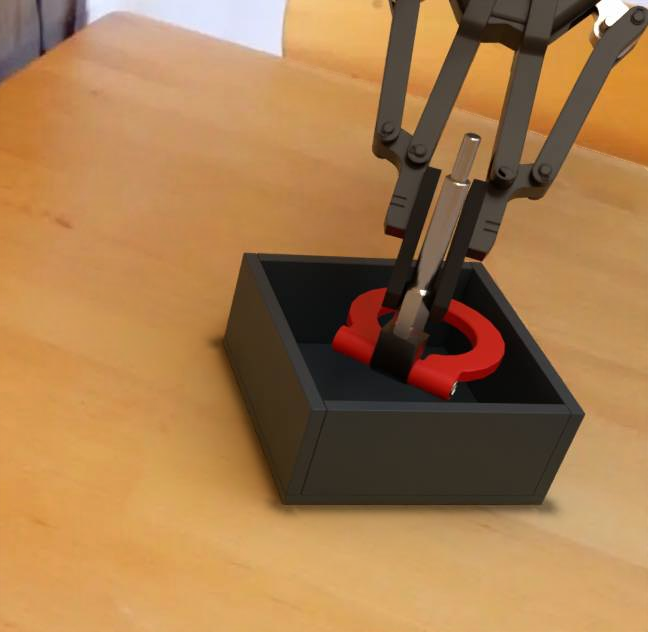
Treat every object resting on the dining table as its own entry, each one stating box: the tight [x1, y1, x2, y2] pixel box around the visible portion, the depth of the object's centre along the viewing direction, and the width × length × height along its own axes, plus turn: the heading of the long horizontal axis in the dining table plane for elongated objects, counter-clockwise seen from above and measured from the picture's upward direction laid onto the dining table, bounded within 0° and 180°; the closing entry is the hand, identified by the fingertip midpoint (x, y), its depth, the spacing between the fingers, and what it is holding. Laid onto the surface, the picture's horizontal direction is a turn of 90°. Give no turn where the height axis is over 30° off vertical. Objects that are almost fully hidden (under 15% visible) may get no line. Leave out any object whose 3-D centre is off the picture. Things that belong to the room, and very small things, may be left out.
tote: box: [222, 252, 586, 505], centre depth 69 cm, size 15×15×6 cm
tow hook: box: [332, 132, 505, 401], centre depth 63 cm, size 8×13×9 cm
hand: (414, 306), depth 62 cm, fingers closed on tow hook, 2 cm apart
